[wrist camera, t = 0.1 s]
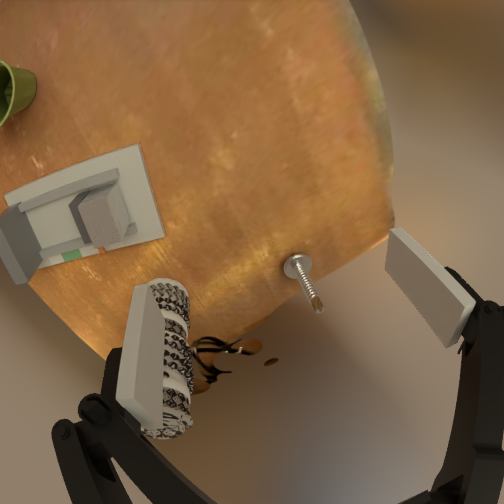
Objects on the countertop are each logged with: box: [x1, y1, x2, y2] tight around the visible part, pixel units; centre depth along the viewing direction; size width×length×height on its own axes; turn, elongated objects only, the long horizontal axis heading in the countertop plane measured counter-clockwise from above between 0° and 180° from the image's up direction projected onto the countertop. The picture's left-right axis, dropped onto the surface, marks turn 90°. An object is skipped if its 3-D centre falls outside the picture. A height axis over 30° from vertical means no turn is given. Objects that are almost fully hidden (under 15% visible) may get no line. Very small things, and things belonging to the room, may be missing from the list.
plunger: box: [78, 181, 130, 248], centre depth 35 cm, size 6×4×6 cm, turn 8°
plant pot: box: [0, 60, 37, 127], centre depth 23 cm, size 9×9×9 cm
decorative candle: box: [141, 278, 194, 439], centre depth 39 cm, size 9×9×25 cm
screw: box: [283, 253, 324, 313], centre depth 45 cm, size 13×5×5 cm
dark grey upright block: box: [68, 190, 106, 255], centre depth 36 cm, size 9×2×4 cm, turn 8°
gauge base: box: [0, 142, 166, 285], centre depth 35 cm, size 14×24×8 cm, turn 98°
